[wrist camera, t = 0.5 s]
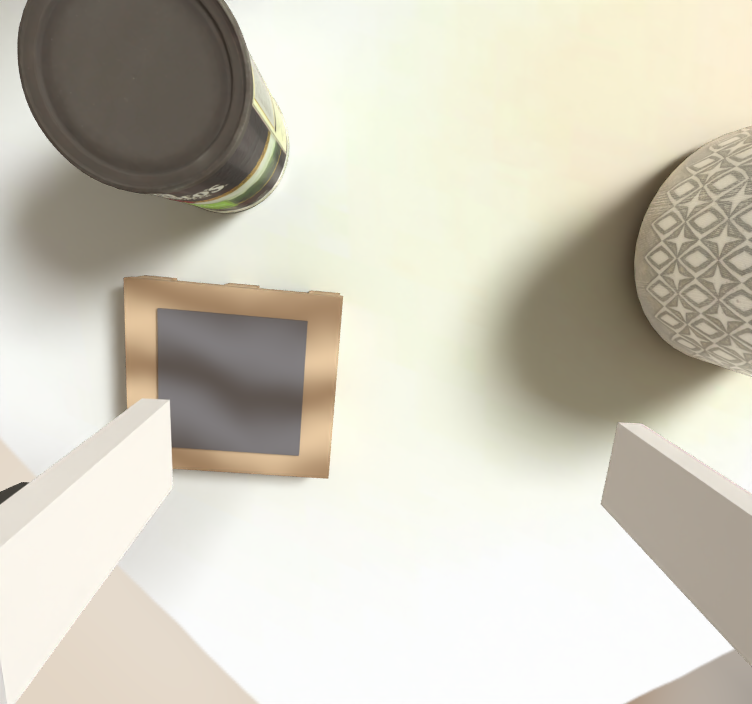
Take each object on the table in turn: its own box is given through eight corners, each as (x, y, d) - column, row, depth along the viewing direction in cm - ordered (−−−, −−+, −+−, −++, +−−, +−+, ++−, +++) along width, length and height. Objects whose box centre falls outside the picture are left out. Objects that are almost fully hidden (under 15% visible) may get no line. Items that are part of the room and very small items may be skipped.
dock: (142, 275, 36) (121, 277, 33) (343, 293, 37) (342, 298, 34) (145, 449, 40) (126, 467, 36) (330, 461, 41) (327, 480, 37)
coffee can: (280, 225, 36) (235, 212, 22) (146, 198, 35) (13, 168, 21) (300, 83, 34) (264, -29, 20) (157, 50, 33) (17, -89, 19)
